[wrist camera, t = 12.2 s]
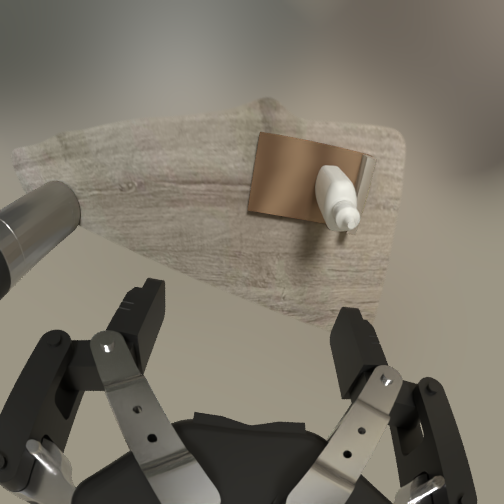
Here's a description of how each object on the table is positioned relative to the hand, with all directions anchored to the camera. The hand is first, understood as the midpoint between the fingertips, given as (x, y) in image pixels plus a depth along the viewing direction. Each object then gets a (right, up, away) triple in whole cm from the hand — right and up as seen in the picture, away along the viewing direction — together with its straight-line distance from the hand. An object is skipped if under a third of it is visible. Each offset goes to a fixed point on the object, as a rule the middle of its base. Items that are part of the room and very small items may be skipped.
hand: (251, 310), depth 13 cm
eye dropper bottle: (+9, +11, +23) cm, 27 cm away
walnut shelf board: (+7, +11, +24) cm, 27 cm away
